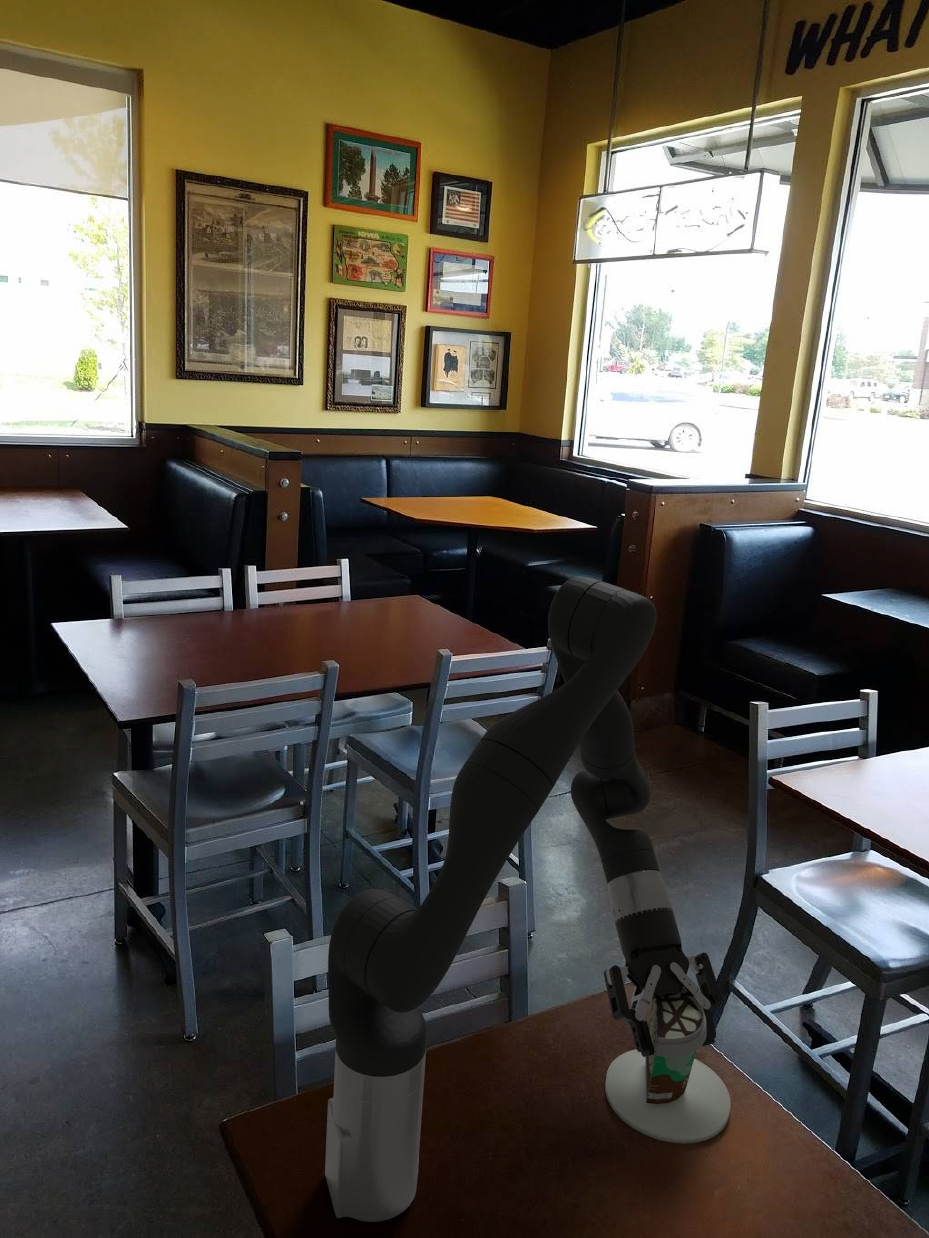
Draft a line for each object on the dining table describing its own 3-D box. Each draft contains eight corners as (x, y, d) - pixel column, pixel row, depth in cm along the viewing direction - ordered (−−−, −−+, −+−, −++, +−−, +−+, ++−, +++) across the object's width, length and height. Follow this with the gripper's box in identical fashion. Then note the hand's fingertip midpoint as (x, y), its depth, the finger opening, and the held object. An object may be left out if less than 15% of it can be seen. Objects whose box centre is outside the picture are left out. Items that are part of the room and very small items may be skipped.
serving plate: (642, 1154, 110) (644, 1145, 110) (584, 1066, 124) (585, 1058, 123) (754, 1129, 115) (755, 1120, 115) (686, 1047, 129) (687, 1039, 128)
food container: (699, 1122, 113) (713, 1050, 110) (646, 1112, 114) (658, 1040, 111) (693, 1049, 124) (705, 983, 122) (645, 1041, 125) (656, 974, 122)
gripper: (604, 912, 119) (640, 1055, 111) (705, 899, 124) (745, 1036, 116) (581, 927, 125) (613, 1064, 117) (677, 914, 130) (714, 1045, 122)
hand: (679, 1050), depth 116 cm, fingers closed on food container, 8 cm apart
